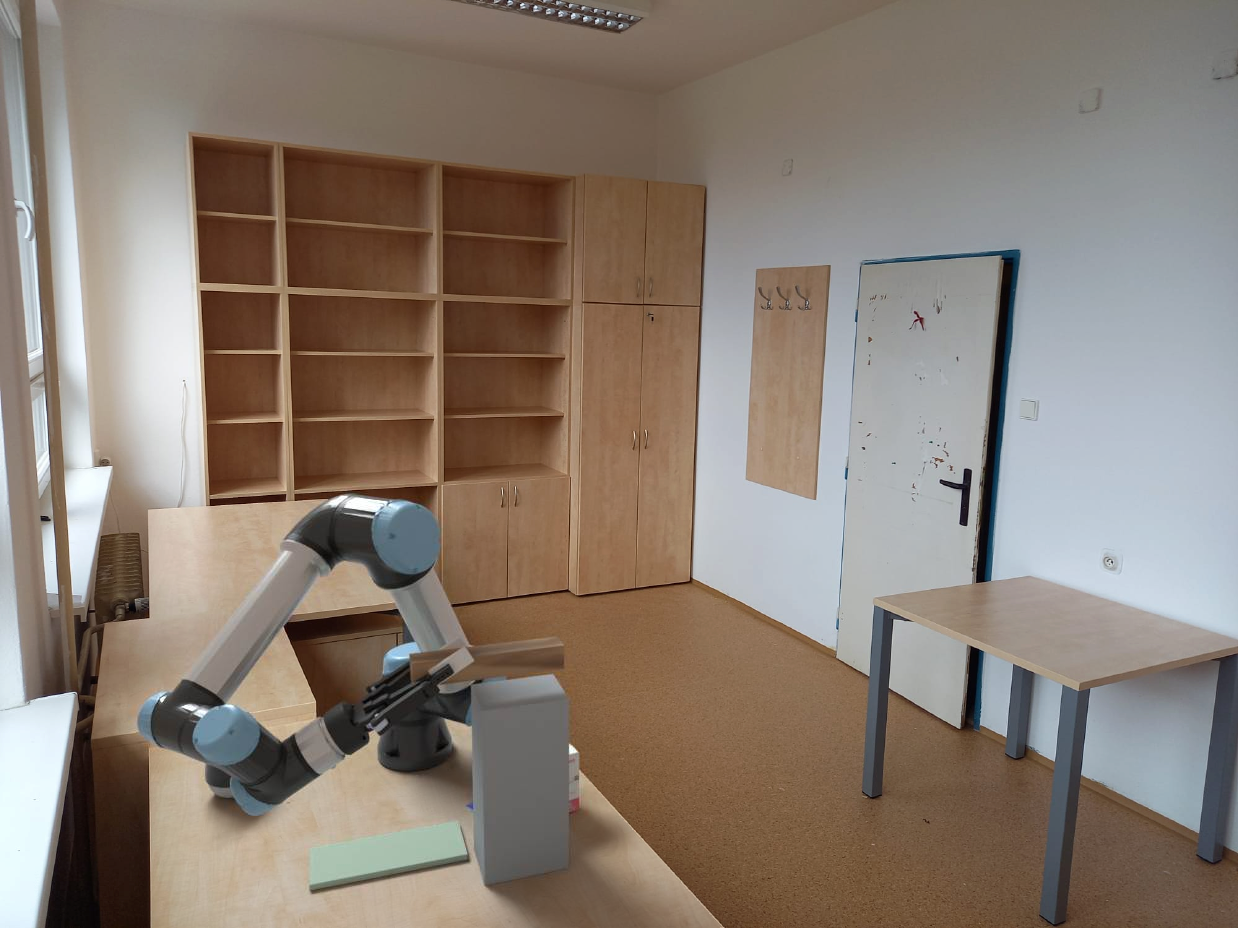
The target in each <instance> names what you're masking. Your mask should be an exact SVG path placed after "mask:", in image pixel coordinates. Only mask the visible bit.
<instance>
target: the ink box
mask: <svg viewBox="0 0 1238 928" xmlns="http://www.w3.org/2000/svg"><path fill="white" fill-rule="evenodd" d="M579 809H580V752H579V751H578V750H577V749H576V747H574V745H572V744H571V743H570V742H569V813H572V812H576V811H579Z"/></svg>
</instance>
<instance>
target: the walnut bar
mask: <svg viewBox="0 0 1238 928" xmlns="http://www.w3.org/2000/svg"><path fill="white" fill-rule="evenodd" d="M459 649H461V648H455V649H446V650H438V651H429V652H420V653H412V654H409V659H410V679H411V683H412V682H414V681H416V680H418V679H420V678H421V677H423V676H425V675H427V674H429V675H430V673H429V671H428V670H429V669H431V668H432V667H434V666H435V665H437V664H438V663H440V662H441V661H443V660H444V659H446V658H447V657H449V656H450V655H452V654H453V653H455V652H456V651H458V650H459ZM466 649H467V650H468V652H469V653H470V655H471V656H472V658H473V659H474V662H472V663H471V664H469V665H468V666H466V667H465V668H463V669H462V670H460V671H459V672H457V673H456V674H454V675H453V676H451V677H450V678H448V679H447V680H445V681H444V682H442V683H441V684H439V685H443V684H450V683H458V682H466V681H474V680H481V679H489V678H497V677H504V676H506V677H511V676H520V675H526V674H533V673H539V672H540V673H541V672H549V671H551V672H552V671H557V670H563V669H565V644H564V643H563V641H561V639H560V638H559V636H551V637H550V636H549V637H542V638H533V639H532V638H531V639H525V640H516V641H508V642H498V643H491V644H482V645H472V647H466Z"/></svg>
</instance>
